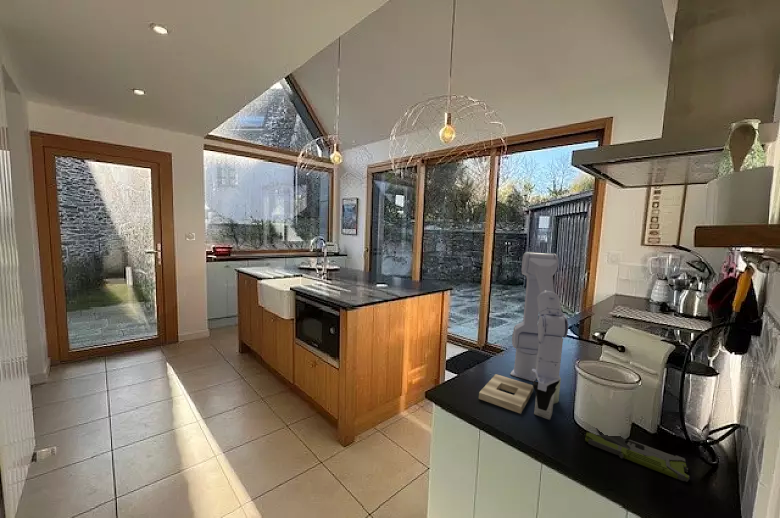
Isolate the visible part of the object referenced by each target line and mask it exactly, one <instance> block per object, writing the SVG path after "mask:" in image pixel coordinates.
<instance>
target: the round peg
mask: <svg viewBox="0 0 780 518" xmlns="http://www.w3.org/2000/svg"><path fill="white" fill-rule="evenodd" d="M561 380H562V378H561V377H560V381H559V383H558V385H557V386H556V387H555V388H556V391H555V393H554V402H553V405H555V404H558V403H559V399H560V390H561V382H562V381H561Z"/></svg>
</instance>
